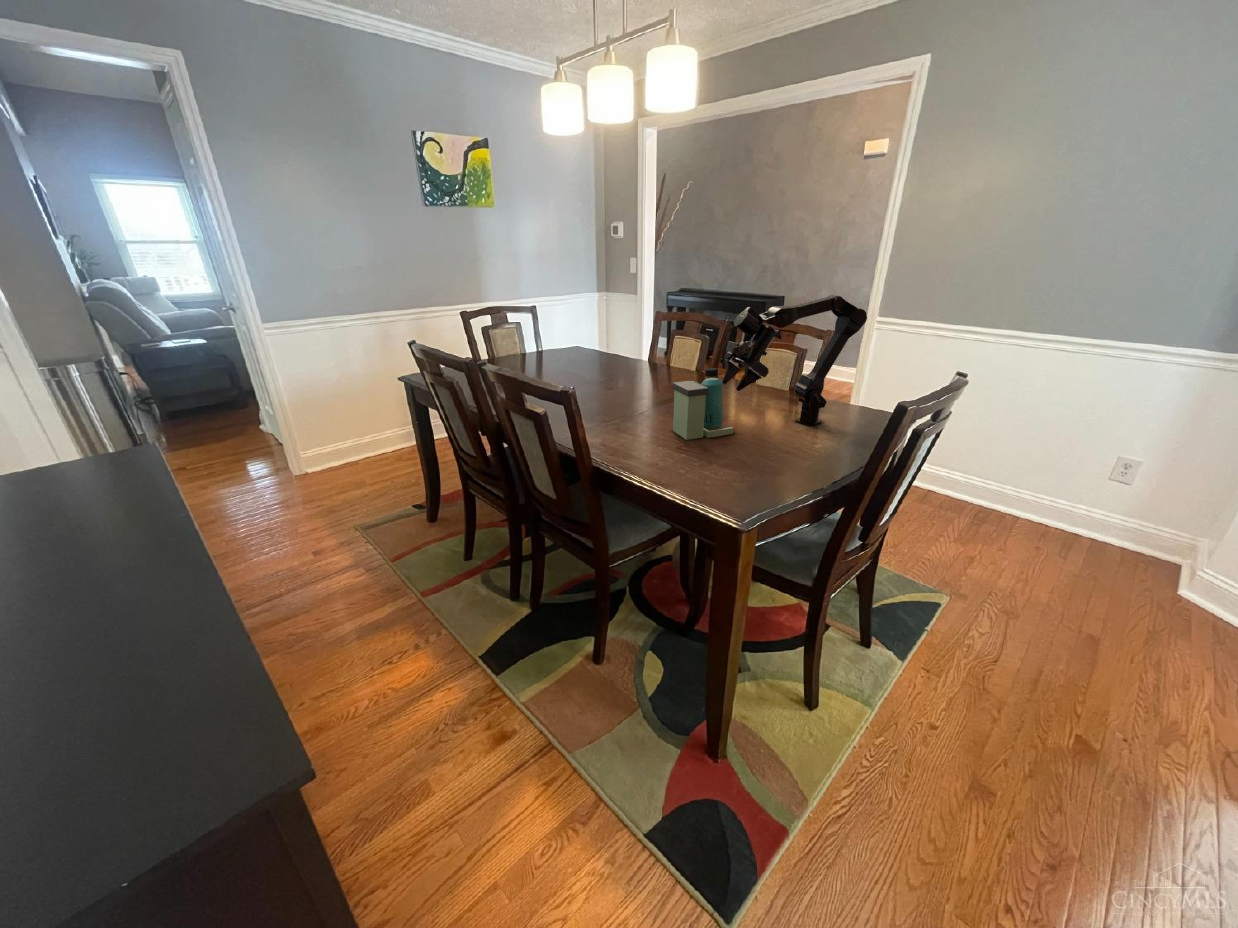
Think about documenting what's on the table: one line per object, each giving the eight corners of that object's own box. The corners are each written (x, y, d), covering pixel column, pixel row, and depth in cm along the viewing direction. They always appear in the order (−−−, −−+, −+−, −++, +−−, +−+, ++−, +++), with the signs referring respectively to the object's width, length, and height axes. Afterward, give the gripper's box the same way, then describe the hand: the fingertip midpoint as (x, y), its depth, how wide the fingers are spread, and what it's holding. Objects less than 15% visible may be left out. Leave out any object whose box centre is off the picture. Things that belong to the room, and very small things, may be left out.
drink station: (714, 423, 166) (718, 377, 160) (733, 433, 157) (737, 384, 151) (670, 430, 161) (671, 382, 154) (686, 441, 151) (689, 390, 145)
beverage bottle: (724, 425, 162) (723, 365, 155) (722, 432, 156) (720, 370, 149) (704, 426, 164) (702, 366, 157) (701, 432, 158) (699, 371, 151)
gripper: (726, 326, 158) (699, 368, 160) (757, 334, 141) (726, 380, 144) (750, 344, 162) (723, 385, 165) (782, 354, 146) (752, 399, 148)
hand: (730, 386), depth 155 cm, fingers open, 9 cm apart
